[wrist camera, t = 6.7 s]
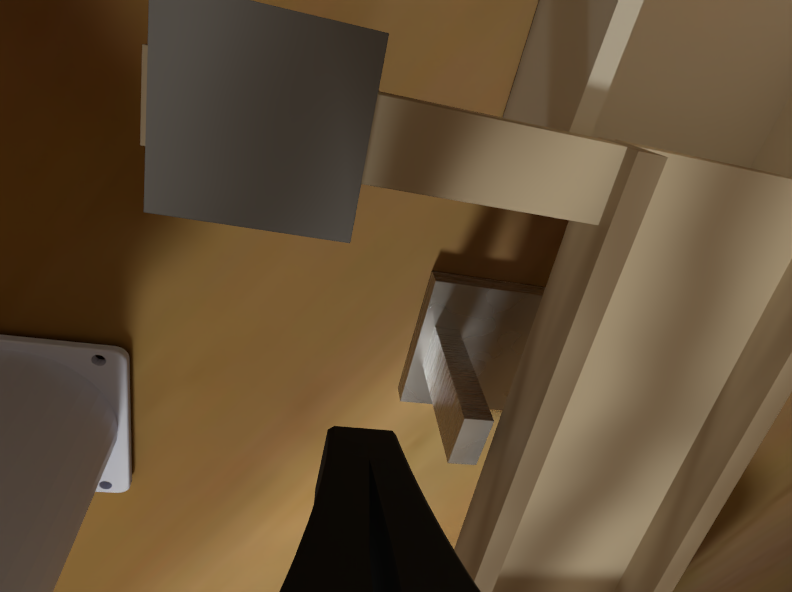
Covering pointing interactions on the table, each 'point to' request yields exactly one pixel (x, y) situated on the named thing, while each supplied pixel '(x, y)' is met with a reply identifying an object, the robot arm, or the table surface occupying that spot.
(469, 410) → the lever stand
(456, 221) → the table surface
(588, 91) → the cream open box
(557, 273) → the lever
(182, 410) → the table surface
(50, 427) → the robot arm
